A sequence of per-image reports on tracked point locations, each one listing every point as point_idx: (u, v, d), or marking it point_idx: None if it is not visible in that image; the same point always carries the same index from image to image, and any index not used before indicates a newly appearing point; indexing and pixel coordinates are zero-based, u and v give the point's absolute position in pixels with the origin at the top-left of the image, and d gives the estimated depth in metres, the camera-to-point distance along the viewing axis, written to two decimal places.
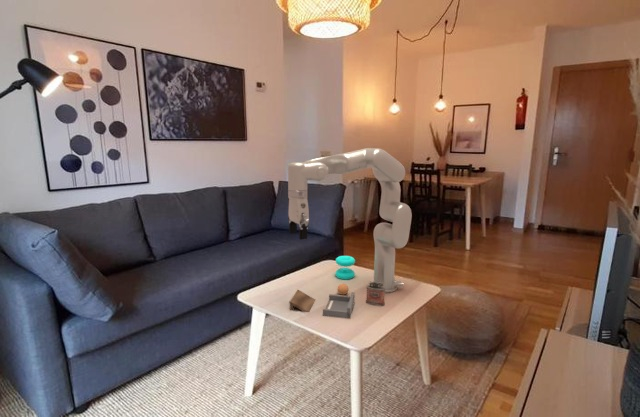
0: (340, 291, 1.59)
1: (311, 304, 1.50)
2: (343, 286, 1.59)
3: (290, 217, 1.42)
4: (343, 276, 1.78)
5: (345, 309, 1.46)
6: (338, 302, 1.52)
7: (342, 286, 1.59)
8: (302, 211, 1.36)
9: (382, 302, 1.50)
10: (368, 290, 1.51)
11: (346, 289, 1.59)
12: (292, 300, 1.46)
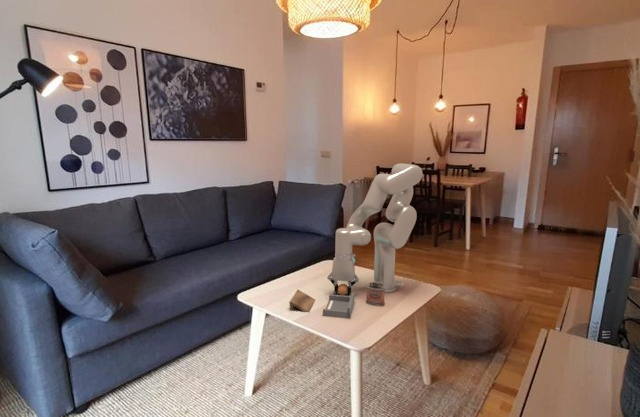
0: (340, 291, 1.59)
1: (311, 304, 1.50)
2: (343, 287, 1.59)
3: (336, 277, 1.58)
4: None
5: (345, 309, 1.46)
6: (338, 302, 1.52)
7: (342, 286, 1.59)
8: (354, 270, 1.57)
9: (382, 302, 1.50)
10: (368, 290, 1.51)
11: (346, 289, 1.59)
12: (292, 300, 1.46)
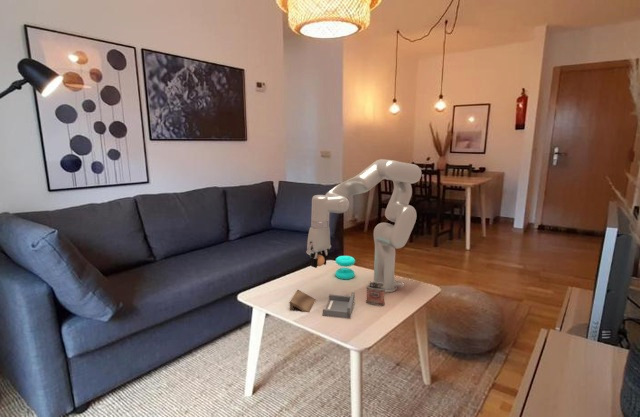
0: (321, 262, 1.49)
1: (311, 304, 1.50)
2: (322, 256, 1.51)
3: (318, 248, 1.47)
4: (343, 276, 1.78)
5: (345, 309, 1.46)
6: (338, 302, 1.52)
7: (321, 256, 1.50)
8: None
9: (382, 302, 1.50)
10: (368, 290, 1.51)
11: None
12: (292, 300, 1.46)
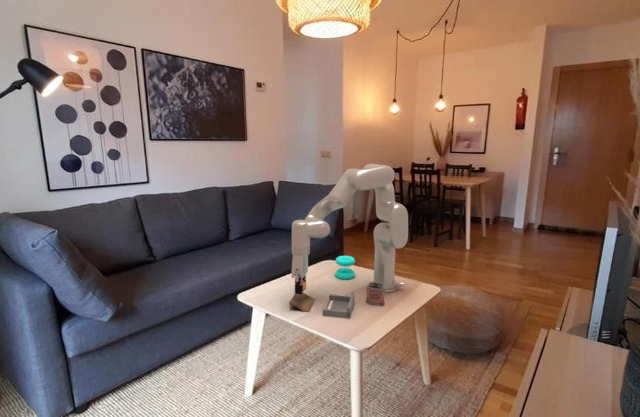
0: (305, 287, 1.48)
1: (311, 304, 1.50)
2: (304, 281, 1.49)
3: (304, 274, 1.45)
4: (343, 276, 1.78)
5: (345, 309, 1.46)
6: (338, 302, 1.52)
7: (303, 281, 1.48)
8: None
9: (382, 302, 1.50)
10: (368, 290, 1.51)
11: None
12: (292, 300, 1.46)
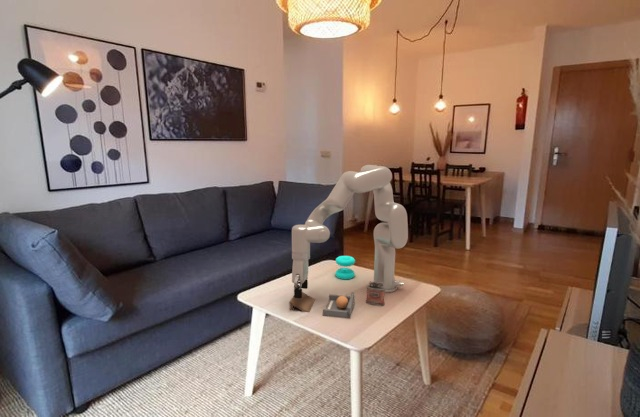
0: None
1: (311, 304, 1.50)
2: None
3: (304, 279, 1.46)
4: (343, 276, 1.78)
5: (345, 309, 1.46)
6: None
7: None
8: None
9: (382, 302, 1.50)
10: (368, 290, 1.51)
11: None
12: (292, 300, 1.46)
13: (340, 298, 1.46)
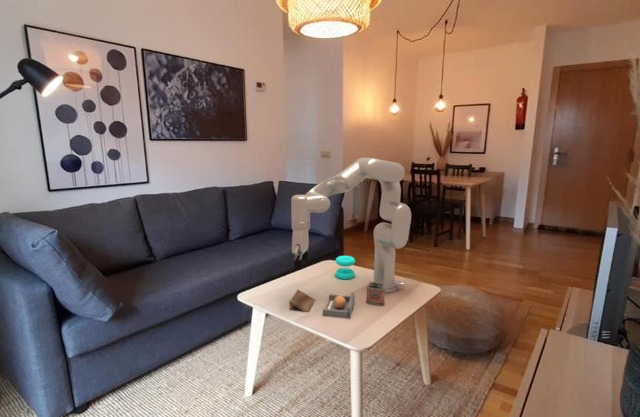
0: (341, 307, 1.47)
1: (311, 304, 1.50)
2: None
3: (304, 250, 1.43)
4: (343, 276, 1.78)
5: (345, 309, 1.46)
6: None
7: (345, 303, 1.47)
8: None
9: (382, 302, 1.50)
10: (368, 290, 1.51)
11: None
12: (292, 300, 1.46)
13: (336, 298, 1.46)
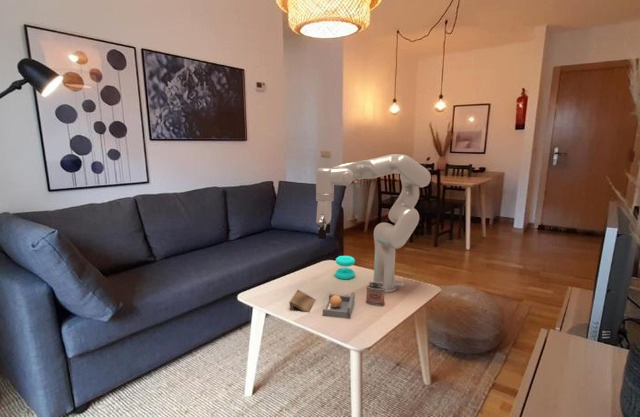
0: None
1: (311, 304, 1.50)
2: (341, 299, 1.48)
3: (328, 221, 1.49)
4: (343, 276, 1.78)
5: (345, 309, 1.46)
6: None
7: (341, 299, 1.47)
8: None
9: (382, 302, 1.50)
10: (368, 290, 1.51)
11: None
12: (292, 300, 1.46)
13: (330, 300, 1.47)
